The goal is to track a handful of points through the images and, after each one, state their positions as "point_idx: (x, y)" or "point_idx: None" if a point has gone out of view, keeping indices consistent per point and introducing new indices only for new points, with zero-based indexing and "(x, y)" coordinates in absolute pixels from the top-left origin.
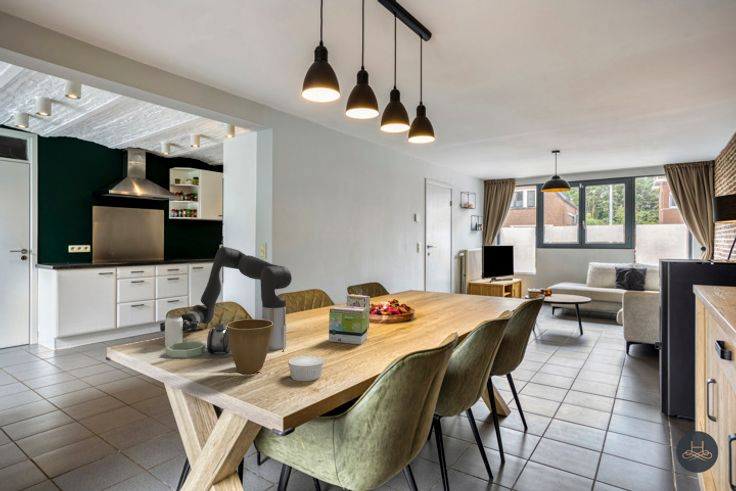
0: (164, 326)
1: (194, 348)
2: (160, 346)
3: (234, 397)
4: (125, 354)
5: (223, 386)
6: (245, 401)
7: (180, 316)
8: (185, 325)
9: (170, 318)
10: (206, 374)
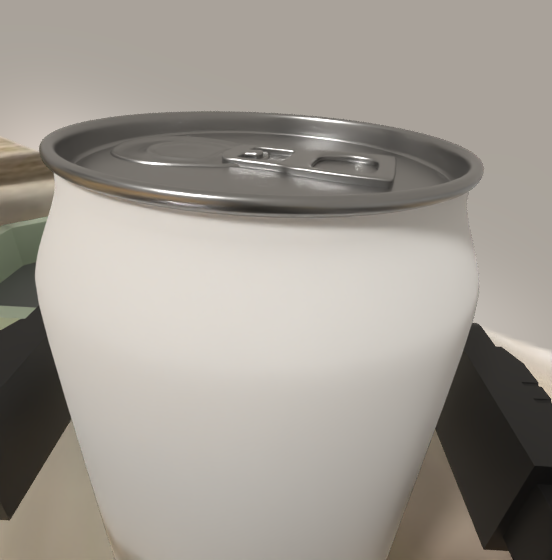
0: (468, 386)
1: (44, 220)
2: (410, 546)
3: (22, 145)
4: (489, 335)
5: (25, 159)
6: (9, 140)
7: (84, 195)
8: (14, 339)
9: (286, 128)
10: (47, 186)
